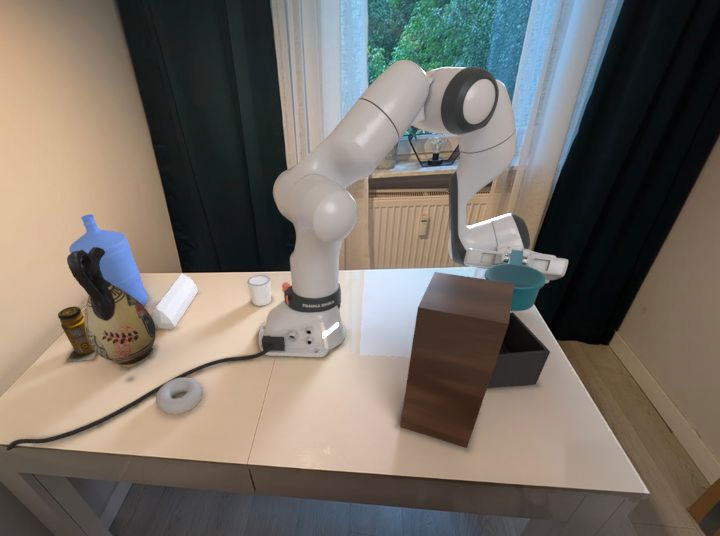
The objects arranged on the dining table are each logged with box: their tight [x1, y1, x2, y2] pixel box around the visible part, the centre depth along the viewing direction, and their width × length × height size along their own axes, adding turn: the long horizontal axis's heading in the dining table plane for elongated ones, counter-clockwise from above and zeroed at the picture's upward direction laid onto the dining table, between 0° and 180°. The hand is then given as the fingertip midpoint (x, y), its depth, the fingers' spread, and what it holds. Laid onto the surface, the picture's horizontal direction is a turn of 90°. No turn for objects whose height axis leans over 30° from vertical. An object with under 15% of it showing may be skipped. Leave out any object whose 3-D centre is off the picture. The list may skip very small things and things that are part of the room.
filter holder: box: [484, 250, 546, 312], centre depth 75 cm, size 20×10×5 cm, turn 152°
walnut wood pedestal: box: [399, 271, 514, 449], centre depth 66 cm, size 12×12×27 cm
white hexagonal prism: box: [150, 273, 199, 330], centre depth 112 cm, size 7×7×24 cm
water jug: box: [68, 213, 149, 307], centre depth 110 cm, size 16×16×28 cm
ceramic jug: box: [66, 247, 157, 369], centre depth 88 cm, size 17×15×30 cm
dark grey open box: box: [487, 311, 551, 390], centre depth 81 cm, size 14×14×9 cm
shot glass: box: [246, 274, 272, 307], centre depth 112 cm, size 7×7×7 cm
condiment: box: [57, 306, 98, 362], centre depth 97 cm, size 7×8×12 cm
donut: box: [155, 377, 203, 415], centre depth 82 cm, size 10×4×10 cm
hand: (515, 259), depth 79 cm, fingers closed on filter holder, 2 cm apart
